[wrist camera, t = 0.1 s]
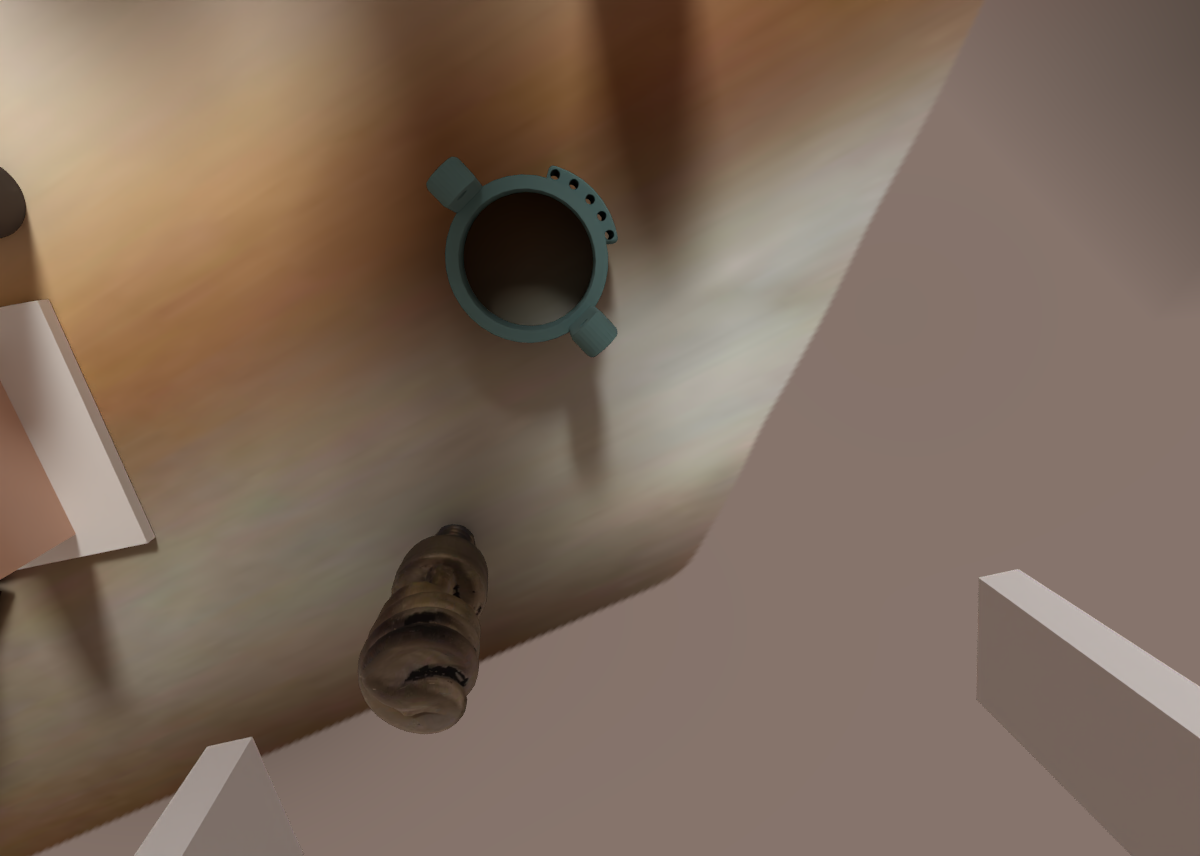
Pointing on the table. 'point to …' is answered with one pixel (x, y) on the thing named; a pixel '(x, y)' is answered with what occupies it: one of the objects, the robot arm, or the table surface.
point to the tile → (25, 497)
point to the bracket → (470, 198)
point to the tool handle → (10, 205)
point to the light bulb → (427, 635)
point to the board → (67, 435)
